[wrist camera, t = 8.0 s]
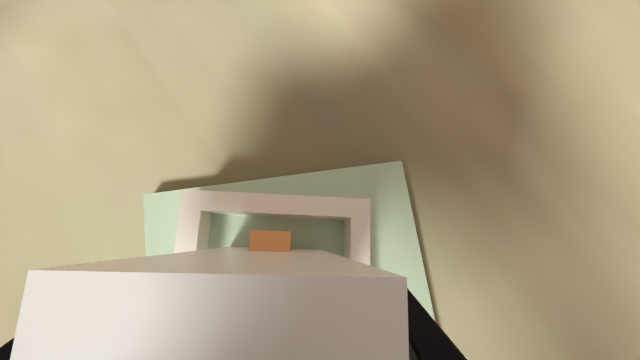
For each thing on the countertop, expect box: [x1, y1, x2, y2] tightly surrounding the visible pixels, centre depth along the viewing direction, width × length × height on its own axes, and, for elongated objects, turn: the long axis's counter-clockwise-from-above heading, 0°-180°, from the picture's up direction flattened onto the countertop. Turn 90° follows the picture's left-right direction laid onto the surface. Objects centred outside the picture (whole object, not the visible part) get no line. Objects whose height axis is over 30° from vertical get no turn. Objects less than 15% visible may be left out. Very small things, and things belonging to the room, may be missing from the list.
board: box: [143, 161, 435, 320], centre depth 16 cm, size 20×15×1 cm
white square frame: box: [174, 189, 370, 265], centre depth 15 cm, size 10×10×2 cm
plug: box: [10, 230, 409, 360], centre depth 10 cm, size 5×5×13 cm
